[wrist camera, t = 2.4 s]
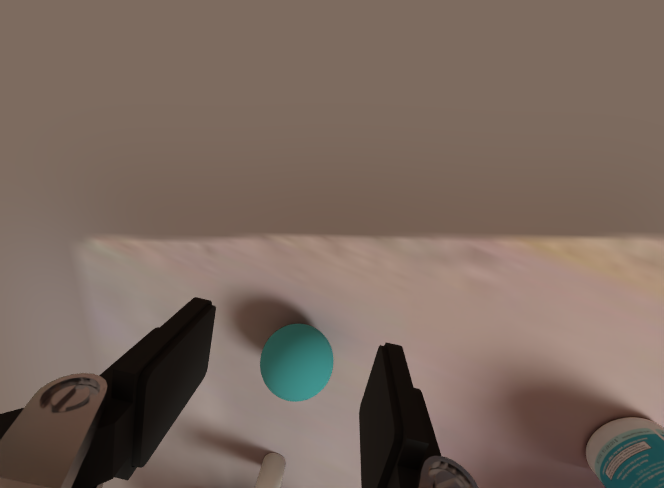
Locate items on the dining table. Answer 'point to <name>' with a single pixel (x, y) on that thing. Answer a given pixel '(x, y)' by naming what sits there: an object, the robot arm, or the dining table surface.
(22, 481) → the robot arm
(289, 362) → the ball
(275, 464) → the pin
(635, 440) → the pill bottle
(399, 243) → the dining table surface
